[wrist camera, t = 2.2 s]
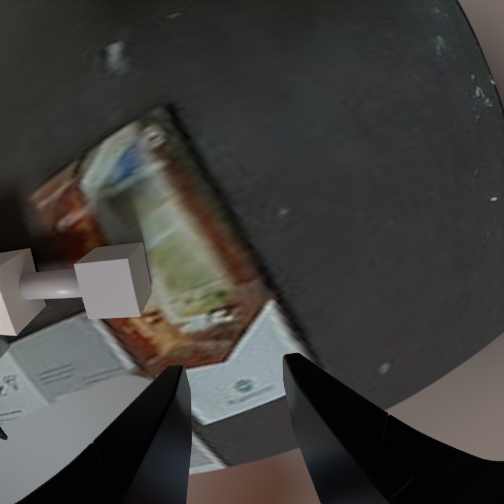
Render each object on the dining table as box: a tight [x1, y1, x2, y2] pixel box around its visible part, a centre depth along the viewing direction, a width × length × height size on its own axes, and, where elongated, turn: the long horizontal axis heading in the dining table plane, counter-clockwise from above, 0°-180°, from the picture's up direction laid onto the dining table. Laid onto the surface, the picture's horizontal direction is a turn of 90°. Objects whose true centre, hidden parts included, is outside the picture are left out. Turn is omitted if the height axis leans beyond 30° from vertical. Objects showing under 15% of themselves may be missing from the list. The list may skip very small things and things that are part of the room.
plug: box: [0, 242, 152, 336], centre depth 14 cm, size 4×16×4 cm, turn 94°
